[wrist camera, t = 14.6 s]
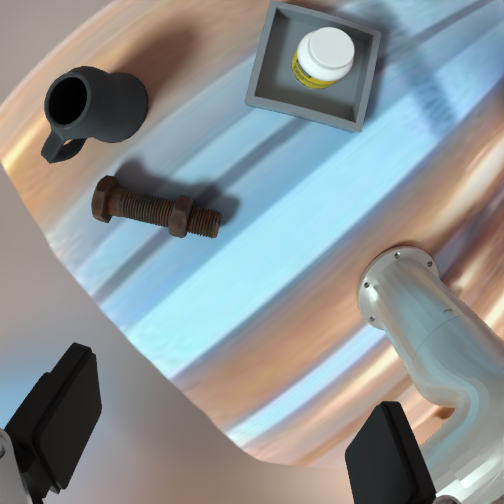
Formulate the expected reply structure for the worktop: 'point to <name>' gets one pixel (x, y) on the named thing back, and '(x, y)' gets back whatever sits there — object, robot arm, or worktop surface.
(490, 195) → the worktop surface
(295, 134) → the worktop surface
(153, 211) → the bolt
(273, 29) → the tray
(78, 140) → the mug
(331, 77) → the supplement bottle
